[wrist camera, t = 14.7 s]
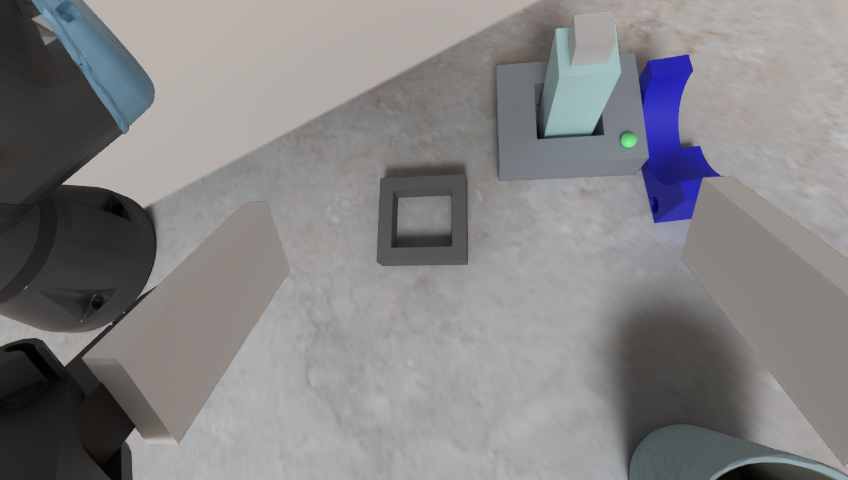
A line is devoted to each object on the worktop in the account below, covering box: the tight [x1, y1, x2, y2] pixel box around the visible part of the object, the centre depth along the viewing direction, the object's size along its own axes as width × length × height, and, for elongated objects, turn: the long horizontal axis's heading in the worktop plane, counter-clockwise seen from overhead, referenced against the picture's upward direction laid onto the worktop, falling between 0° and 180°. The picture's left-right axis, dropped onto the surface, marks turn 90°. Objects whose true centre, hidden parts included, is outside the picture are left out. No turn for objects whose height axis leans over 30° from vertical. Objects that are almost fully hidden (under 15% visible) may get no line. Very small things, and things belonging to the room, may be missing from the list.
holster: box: [377, 174, 468, 266], centre depth 37 cm, size 8×8×2 cm
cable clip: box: [639, 55, 723, 223], centre depth 34 cm, size 12×4×6 cm, turn 4°
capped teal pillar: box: [538, 11, 621, 139], centre depth 32 cm, size 4×4×13 cm
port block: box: [496, 53, 649, 181], centre depth 37 cm, size 12×10×4 cm
